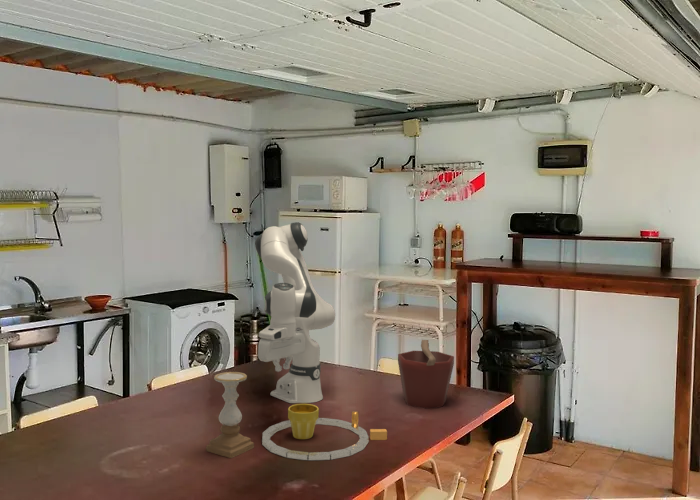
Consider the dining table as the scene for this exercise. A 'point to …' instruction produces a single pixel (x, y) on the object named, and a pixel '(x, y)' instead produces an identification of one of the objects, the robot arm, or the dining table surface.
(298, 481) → the dining table surface
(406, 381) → the bucket
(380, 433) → the pointer block
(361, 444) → the ring
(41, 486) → the dining table surface
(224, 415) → the candle holder
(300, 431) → the plant pot
